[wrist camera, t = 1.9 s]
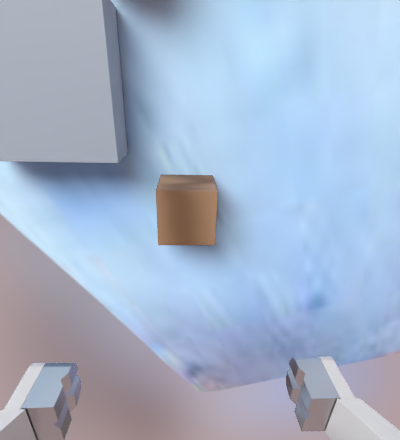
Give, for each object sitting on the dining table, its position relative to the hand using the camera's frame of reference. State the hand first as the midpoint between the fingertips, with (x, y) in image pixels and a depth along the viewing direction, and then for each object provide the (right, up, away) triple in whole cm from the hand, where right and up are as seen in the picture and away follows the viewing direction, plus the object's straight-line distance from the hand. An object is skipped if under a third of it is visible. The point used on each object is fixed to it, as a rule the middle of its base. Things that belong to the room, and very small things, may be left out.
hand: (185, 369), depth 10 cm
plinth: (-12, +17, +12) cm, 24 cm away
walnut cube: (-1, +8, +17) cm, 19 cm away
